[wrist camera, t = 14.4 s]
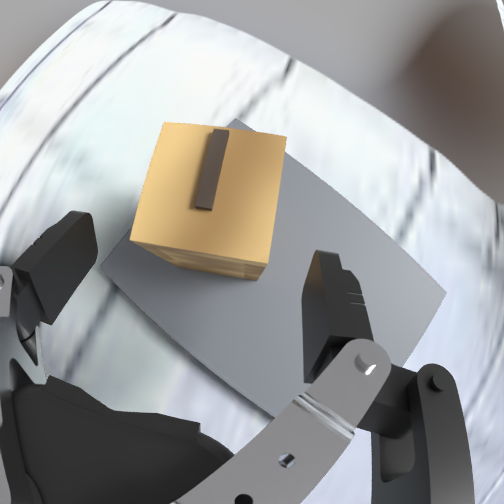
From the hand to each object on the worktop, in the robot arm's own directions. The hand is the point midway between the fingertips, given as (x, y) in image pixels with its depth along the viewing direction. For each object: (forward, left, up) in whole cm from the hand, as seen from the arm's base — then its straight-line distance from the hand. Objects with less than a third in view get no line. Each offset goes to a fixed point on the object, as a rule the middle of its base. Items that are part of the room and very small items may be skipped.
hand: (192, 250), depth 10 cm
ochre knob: (-1, +2, -8) cm, 9 cm away
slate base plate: (+4, +2, -10) cm, 11 cm away
